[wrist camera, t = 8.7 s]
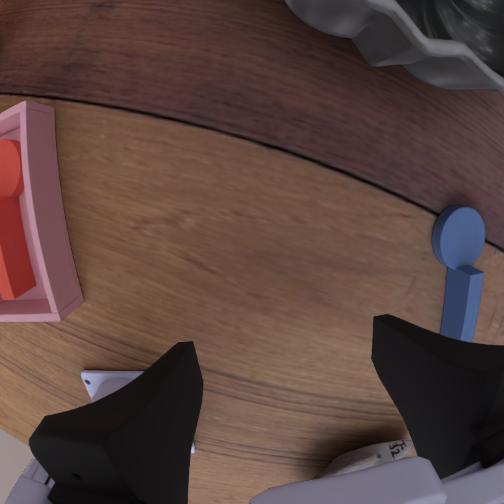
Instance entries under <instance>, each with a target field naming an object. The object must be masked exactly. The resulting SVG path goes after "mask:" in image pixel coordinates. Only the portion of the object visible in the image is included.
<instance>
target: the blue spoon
mask: <svg viewBox="0 0 504 504" xmlns="http://www.w3.org/2000/svg"><path fill="white" fill-rule="evenodd" d="M484 242H485V227H484V223H483V220H482V218H481V216H480V215H479V213H478V212H477V211H476V210H474V209H473V208H471V207H466V206H462V205H453V206H450V207H448V208H447V209H445V210H444V211H443V212H442V213H441V214H440V216H439V217H438V219H437V221H436V223H435V226H434V229H433V234H432V245H433V250H434V253H435V255H436V257H437V259H438V260H439V261H440V262H441V263H442V264H444V265H446V266H447V279H446V290H445V300H444V308H443V316H442V323H441V330H440V335H443V336H446V337H450V338H453V339H458V340H462V341H466V342H473V338H474V333H475V328H476V323H477V317H478V311H479V305H480V299H481V292H482V284H483V275H484V272H482V271H480V270H478V269H476V268H474V267H472V265H473V264H474V263H475V262H476V260H477V259H478V258H479V256H480V254H481V252H482V249H483V246H484Z"/></svg>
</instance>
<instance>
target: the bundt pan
mask: <svg viewBox="0 0 504 504" xmlns="http://www.w3.org/2000/svg"><path fill="white" fill-rule="evenodd" d="M284 1H285V2H286V4H287V5H288V7H289V8H290V9H291V11H292V12H293V13H294V14H295V15H296V16H297V17H299V18H300V19H301V20H302V21H303V22H304V23H306V24H308V25H309V26H311V27H313V28H314V29H317V30H319V31H321V32H324V33H326V34H329V35H332V36H338V37H343V38H350V39H351V40H352V41H353V43H354V44H355V46H356V47H357V48H358V50H359V51H360V53H361V54H362V56H363V57H364V59H365V60H366V62H367V63H368V64H370V65H371V66H374V67H378V66H388V65H399V64H401V65H402V66H403V67H404V68H405V69H406V70H407V71H409V72H410V73H411V74H412V75H414V76H415V77H417V78H418V79H420V80H422V81H424V82H426V83H428V84H430V85H433V86H436V87H439V88H444V89H452V90H466V89H486V90H491V91H500V92H502V93H503V94H504V0H284Z"/></svg>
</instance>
